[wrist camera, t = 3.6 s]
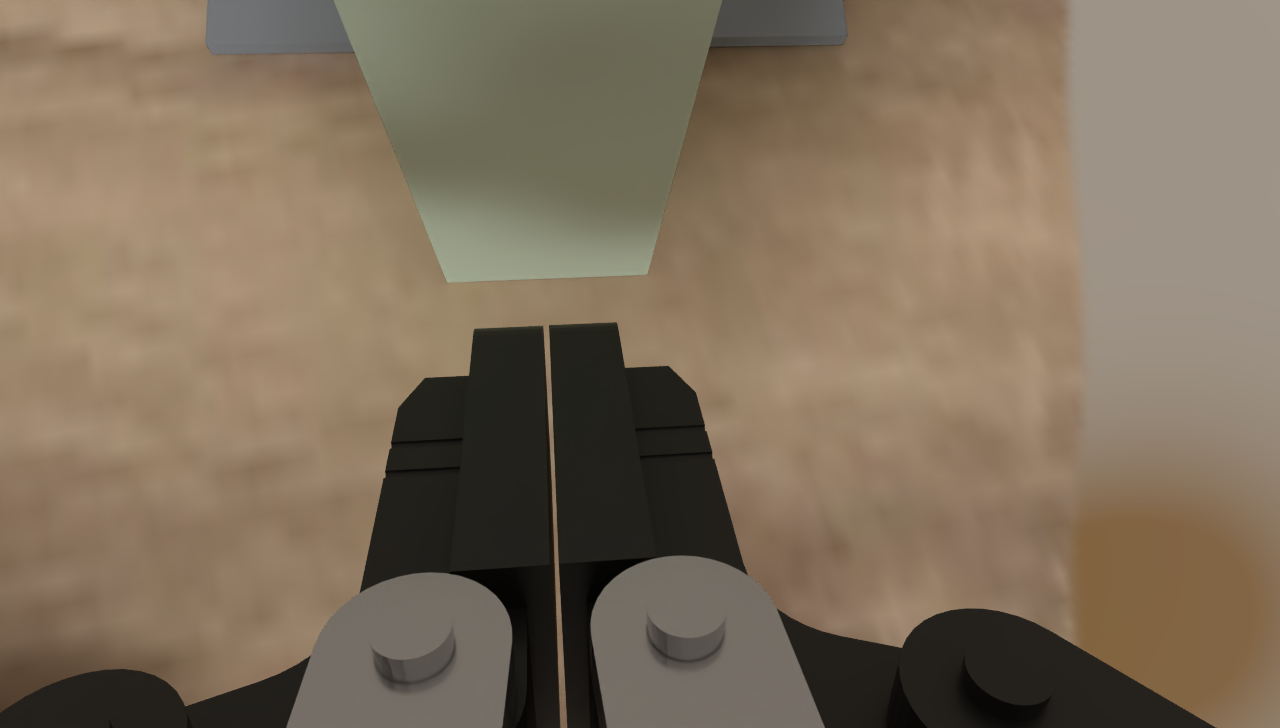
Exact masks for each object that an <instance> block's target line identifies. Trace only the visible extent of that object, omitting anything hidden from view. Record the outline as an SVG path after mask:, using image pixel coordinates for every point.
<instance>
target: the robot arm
mask: <svg viewBox="0 0 1280 728" xmlns="http://www.w3.org/2000/svg"><path fill="white" fill-rule="evenodd" d="M549 333H550V357H551V382H552V406H553V431H554V455H555V480H556V504H557V529H558V553H559V575H560V594H561V613H562V632H563V651H564V670H565V689H566V708H567V727H568V728H1215V727H1214V726H1212V725H1210V724H1208V723H1207V722H1205V721H1203V720H1202V719H1200V718H1198V717H1196V716H1195V715H1193V714H1191V713H1190V712H1188V711H1186V710H1185V709H1183V708H1181V707H1179V706H1178V705H1176V704H1174V703H1173V702H1171V701H1169V700H1167V699H1166V698H1164V697H1162V696H1161V695H1159V694H1157V693H1155V692H1153V691H1152V690H1150V689H1149V688H1147V687H1145V686H1144V685H1142V684H1140V683H1138V682H1137V681H1135V680H1133V679H1131V678H1130V677H1128V676H1126V675H1124V674H1123V673H1121V672H1119V671H1118V670H1116V669H1114V668H1113V667H1111V666H1109V665H1107V664H1106V663H1104V662H1102V661H1100V660H1099V659H1097V658H1095V657H1094V656H1092V655H1090V654H1089V653H1087V652H1085V651H1084V650H1082V649H1080V648H1078V647H1077V646H1075V645H1073V644H1072V643H1070V642H1068V641H1067V640H1065V639H1063V638H1061V637H1060V636H1058V635H1056V634H1055V633H1053V632H1051V631H1049V630H1047V629H1045V628H1043V627H1042V626H1040V625H1038V624H1036V623H1034V622H1031V621H1029V620H1026V619H1023V618H1021V617H1018V616H1015V615H1011V614H1008V613H1004V612H1000V611H994V610H987V609H958V610H950V611H947V612H943V613H940V614H936V615H934V616H932V617H930V618H928V619H926V620H924V621H923V622H922V623H921V624H919V625H918V626H917V627H915V628H914V629H913V631H912V632H911V633H910V634H909V636H908V637H907V638H906V641H905V643H904V645H903V647H902V648H899V647H894V646H889V645H884V644H878V643H873V642H868V641H863V640H858V639H853V638H847V637H842V636H838V635H834V634H830V633H826V632H822V631H819V630H817V629H814V628H811V627H809V626H806V625H804V624H802V623H800V622H798V621H796V620H794V619H792V618H790V617H789V616H787V615H786V614H784V613H783V612H781V611H780V610H778V609H777V608H776V607H775V605H774V603H773V601H772V599H771V598H770V597H769V595H768V594H767V593H766V592H765V590H764V589H763V588H762V587H761V586H760V585H759V584H758V583H757V582H755V581H754V580H753V579H752V578H751V577H749V576H748V574H747V572H746V569H745V567H744V564H743V561H742V557H741V553H740V550H739V546H738V543H737V539H736V535H735V532H734V528H733V525H732V521H731V517H730V514H729V510H728V507H727V503H726V499H725V496H724V492H723V489H722V485H721V482H720V478H719V474H718V471H717V467H716V464H715V460H714V459H713V458H712V449H711V446H710V442H709V438H708V435H707V431H705V424H704V421H703V417H702V413H701V410H700V406H699V403H698V399H697V395H696V392H695V391H694V390H693V389H692V388H691V387H690V386H689V385H688V384H686V383H685V382H684V381H683V380H682V379H681V378H680V377H679V376H678V375H677V374H676V373H675V372H674V371H673V370H672V369H671V368H670V367H669V366H658V367H637V368H625V366H624V360H623V354H622V348H621V342H620V336H619V331H618V325H617V323H616V322H615V323H592V324H569V325H549ZM391 445H392V448H391V449H390V450H389V455H388V460H387V465H386V470H385V473H386V478H384V479H383V484H382V489H381V494H380V498H379V503H378V508H377V513H376V518H375V523H374V527H373V532H372V537H371V542H370V547H369V551H368V556H367V561H366V566H365V571H364V575H363V580H362V585H361V590H360V593H359V594H358V595H356V596H354V597H353V598H352V599H350V600H349V601H348V602H347V603H345V604H344V605H343V606H342V607H340V608H339V609H338V610H337V612H336V613H335V614H334V615H333V616H332V617H331V618H330V619H329V620H328V622H327V623H326V625H325V626H324V628H323V629H322V631H321V632H320V634H319V637H318V639H317V641H316V643H315V645H314V648H313V651H312V654H311V656H309V657H308V658H306V659H305V660H303V661H302V662H300V663H299V664H297V665H295V666H293V667H291V668H289V669H288V670H286V671H284V672H282V673H280V674H277V675H275V676H272V677H270V678H267V679H265V680H262V681H260V682H257V683H254V684H251V685H248V686H245V687H242V688H239V689H236V690H233V691H230V692H227V693H224V694H221V695H218V696H215V697H212V698H209V699H206V700H203V701H200V702H197V703H195V704H192V705H189V706H186V707H185V706H184V703H183V701H182V700H181V698H180V696H179V695H178V693H177V691H176V690H175V689H174V688H172V687H171V686H170V685H169V684H168V683H167V682H165V681H164V680H162V679H160V678H158V677H156V676H155V675H151V674H148V673H145V672H141V671H134V670H126V669H116V670H101V671H95V672H89V673H84V674H81V675H77V676H73V677H70V678H66V679H64V680H61V681H59V682H56V683H53V684H51V685H48V686H46V687H44V688H42V689H40V690H38V691H36V692H34V693H32V694H30V695H28V696H26V697H24V698H23V699H21V700H19V701H18V702H16V703H15V704H13V705H12V706H10V707H8V708H7V709H5V710H4V711H2V712H1V713H0V728H560V705H559V677H558V648H557V620H556V591H555V563H554V534H553V505H552V481H551V459H550V440H549V421H548V403H547V385H546V366H545V348H544V331H543V326H529V327H506V328H483V329H474V333H473V342H472V353H471V363H470V373H469V376H456V377H435V378H425V379H424V380H423V381H422V382H421V383H420V384H419V385H418V386H417V388H416V389H415V390H414V391H413V392H412V393H411V394H410V395H409V397H408V398H407V399H406V400H405V401H404V402H403V403H402V404H401V406H400V407H399V408H398V412H397V417H396V422H395V426H394V431H393V436H392V441H391Z"/></svg>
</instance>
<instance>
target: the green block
mask: <svg viewBox="0 0 1280 728" xmlns="http://www.w3.org/2000/svg"><path fill="white" fill-rule="evenodd" d="M334 3H335V5H336V8H337V10H338V13H339V15H340V18H341V20H342V23H343V25H344V28H345V30H346V33H347V35H348V37H349V40H350V42H351V45H352V47H353V50H354V52H355V55H356V57H357V60H358V62H359V65H360V67H361V70H362V72H363V75H364V77H365V80H366V82H367V85H368V87H369V90H370V92H371V95H372V97H373V100H374V102H375V105H376V107H377V109H378V112H379V114H380V117H381V119H382V122H383V124H384V127H385V129H386V132H387V134H388V137H389V139H390V142H391V144H392V147H393V149H394V152H395V154H396V157H397V159H398V162H399V164H400V167H401V169H402V172H403V174H404V177H405V179H406V181H407V184H408V186H409V189H410V191H411V194H412V196H413V199H414V201H415V204H416V206H417V209H418V211H419V214H420V216H421V219H422V221H423V224H424V226H425V229H426V231H427V234H428V236H429V239H430V241H431V244H432V246H433V249H434V251H435V253H436V256H437V258H438V261H439V263H440V266H441V268H442V271H443V273H444V276H445V278H446V281H447V283H448V282H474V281H500V280H526V279H552V278H578V277H604V276H630V275H647V274H648V270H649V267H650V263H651V259H652V256H653V252H654V248H655V245H656V241H657V237H658V234H659V230H660V226H661V223H662V219H663V215H664V212H665V208H666V204H667V201H668V197H669V193H670V190H671V186H672V182H673V179H674V175H675V171H676V168H677V164H678V160H679V157H680V153H681V149H682V146H683V142H684V138H685V135H686V131H687V127H688V124H689V120H690V116H691V113H692V109H693V105H694V102H695V98H696V94H697V91H698V87H699V84H700V80H701V76H702V73H703V69H704V65H705V62H706V58H707V54H708V51H709V47H710V43H711V40H712V36H713V32H714V29H715V25H716V21H717V18H718V14H719V10H720V7H721V3H722V0H334Z"/></svg>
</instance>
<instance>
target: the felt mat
mask: <svg viewBox="0 0 1280 728" xmlns="http://www.w3.org/2000/svg"><path fill="white" fill-rule="evenodd" d="M847 36H848V34H847V27H846V19H845V11H844V4H843V0H722V3H721V7H720V10H719V14H718V18H717V21H716V25H715V29H714V32H713V36H712V40H711V43H710V47H724V46H789V45H843V43H844V41H845V39H846V38H847ZM206 46H207V47H208V49H209V50H210V52H211V53H212V54H270V53H335V52H354V50H353V47H352V45H351V42H350V40H349V37H348V35H347V33H346V30H345V28H344V25H343V23H342V20H341V18H340V15H339V13H338V10H337V8H336V5H335V3H334V0H208V4H207V28H206Z"/></svg>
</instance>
